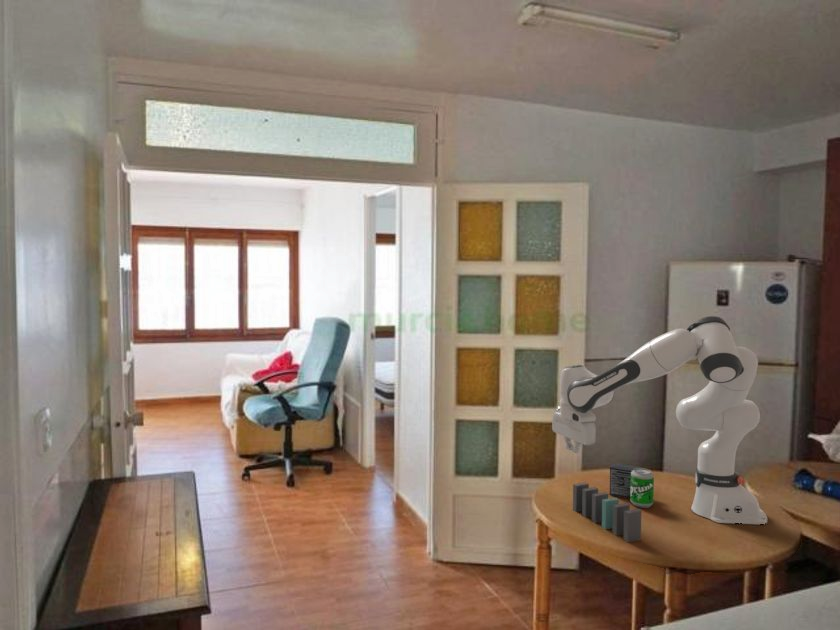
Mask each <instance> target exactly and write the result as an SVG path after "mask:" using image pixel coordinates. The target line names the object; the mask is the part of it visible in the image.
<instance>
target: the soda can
mask: <svg viewBox="0 0 840 630" xmlns="http://www.w3.org/2000/svg"><path fill="white" fill-rule="evenodd" d="M654 478H655V475H654V473H653V472H652V471H651V470H650V469H648V468H644V467H643V468H636V469H634V470H633V471H632V472H631V493H630V499H629V501H630V503H632V505H633V506H635V507H637V508H640V509H641V508H642V509H648V508H650V507H651V506H653V504H654V489H655V488H654V484H655V482H654V480H655V479H654Z"/></svg>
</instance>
